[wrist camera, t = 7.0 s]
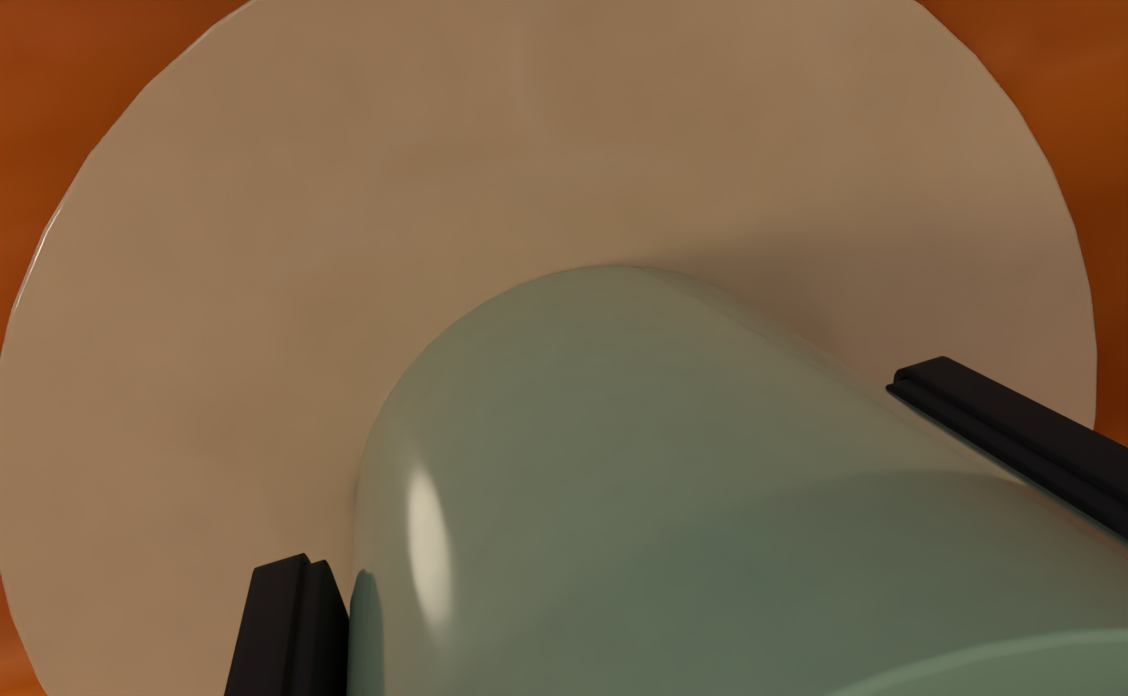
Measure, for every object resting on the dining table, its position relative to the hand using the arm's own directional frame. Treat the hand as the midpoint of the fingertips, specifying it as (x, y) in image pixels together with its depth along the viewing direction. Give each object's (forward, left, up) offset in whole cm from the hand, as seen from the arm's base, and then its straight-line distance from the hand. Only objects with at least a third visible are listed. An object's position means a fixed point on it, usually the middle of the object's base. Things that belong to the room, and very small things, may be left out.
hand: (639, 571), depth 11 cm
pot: (+2, +1, -3) cm, 3 cm away
